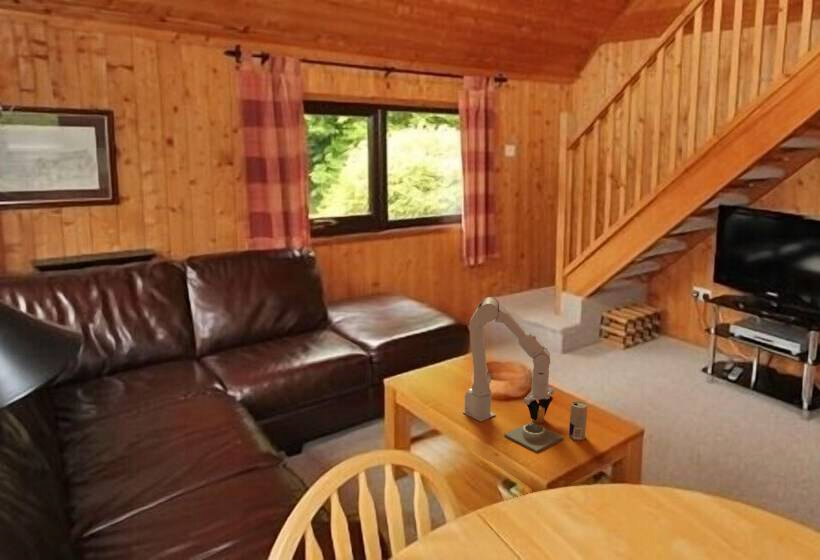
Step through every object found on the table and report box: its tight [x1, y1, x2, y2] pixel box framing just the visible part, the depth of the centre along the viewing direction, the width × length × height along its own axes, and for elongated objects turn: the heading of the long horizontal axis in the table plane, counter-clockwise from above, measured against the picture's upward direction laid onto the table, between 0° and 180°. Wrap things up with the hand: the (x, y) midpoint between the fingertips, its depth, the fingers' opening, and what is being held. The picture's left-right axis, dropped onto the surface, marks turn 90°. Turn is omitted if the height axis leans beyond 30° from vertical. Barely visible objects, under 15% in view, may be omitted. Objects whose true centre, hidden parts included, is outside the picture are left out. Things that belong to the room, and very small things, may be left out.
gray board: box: [503, 421, 564, 453], centre depth 202 cm, size 14×14×1 cm
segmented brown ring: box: [522, 422, 546, 441], centre depth 202 cm, size 7×7×2 cm
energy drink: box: [568, 401, 588, 441], centre depth 201 cm, size 5×5×12 cm
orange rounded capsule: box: [531, 405, 545, 424], centre depth 214 cm, size 4×4×5 cm
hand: (538, 416), depth 214 cm, fingers closed on orange rounded capsule, 4 cm apart
